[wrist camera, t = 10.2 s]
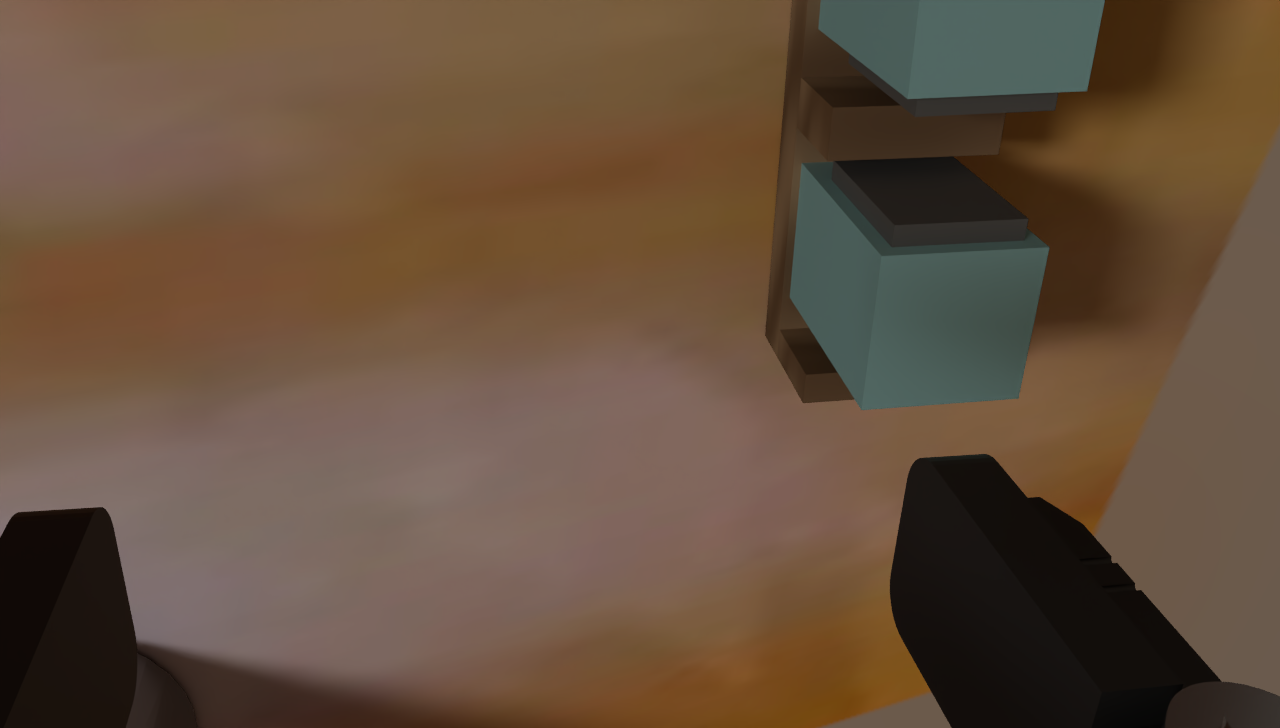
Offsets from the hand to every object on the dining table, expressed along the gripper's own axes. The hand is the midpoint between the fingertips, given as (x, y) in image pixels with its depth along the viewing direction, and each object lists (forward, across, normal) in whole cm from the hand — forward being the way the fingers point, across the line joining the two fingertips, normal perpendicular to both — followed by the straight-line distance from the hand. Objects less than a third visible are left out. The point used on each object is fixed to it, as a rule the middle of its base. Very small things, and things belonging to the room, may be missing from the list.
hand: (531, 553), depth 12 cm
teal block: (+23, -12, -3) cm, 26 cm away
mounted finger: (+23, -13, +5) cm, 27 cm away
